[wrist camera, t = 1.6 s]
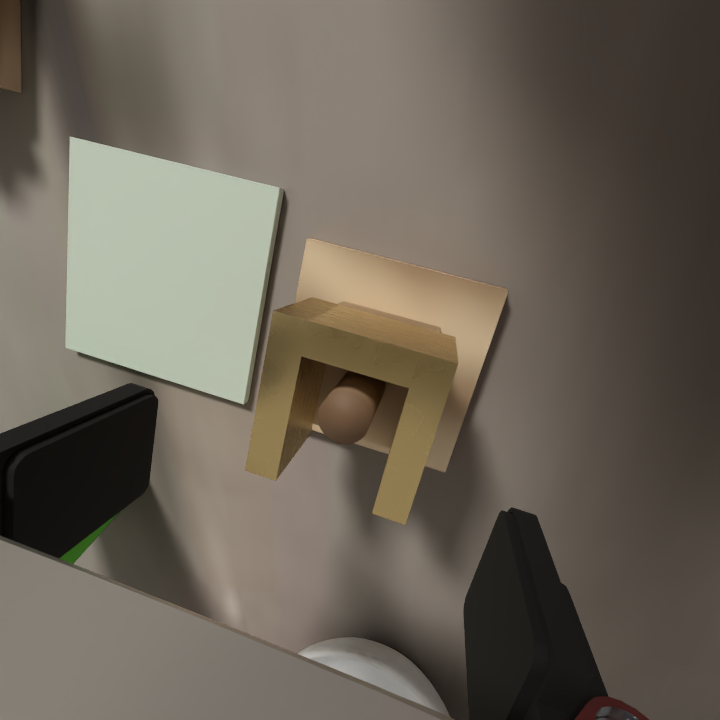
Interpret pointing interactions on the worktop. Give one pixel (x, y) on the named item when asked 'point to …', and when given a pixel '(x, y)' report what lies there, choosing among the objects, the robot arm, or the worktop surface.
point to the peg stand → (405, 304)
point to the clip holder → (10, 45)
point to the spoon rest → (377, 668)
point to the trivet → (168, 267)
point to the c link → (361, 355)
